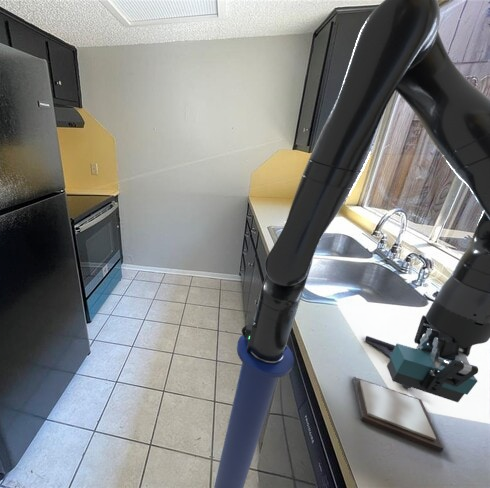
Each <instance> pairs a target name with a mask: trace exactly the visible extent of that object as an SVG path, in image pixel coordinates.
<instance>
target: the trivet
mask: <svg viewBox="0 0 490 488" xmlns="http://www.w3.org/2000/svg"><path fill="white" fill-rule="evenodd" d="M351 381H352V386H353V390H354V394H355V400H356V404H357V408H358V409H357V410H358V414H359V418H360V421H361V422H364V423H366V424H369V425H371V426H374V427H376V428H379V429H381V430H383V431H386V432H389V433H391V434H394V435H397V436H399V437H401V438H404V439H406V440H409V441H412V442H414V443H416V444H419V445H421V446H425V447H426V448H429V449H432V450H434V451H437V452H439V453H442V452H443V450H444V449H445V447H444V446H443V443H442V442H441V439H440V437H439V435H438V433H437V431H436V429H435V426H434V425H433V422H432V420H431V417H430V416H429V413H428V411H427V409H426V407H425V404H424V402H423V400H422V399H420V398H418V397H415V396H412V395H408V394H406V393H403V392H400V391H398V390H394V389H392V388H389V387H386V386H383V385H380V384H377V383H374V382H371V381H369V380H365V379H363V378H360V377H357V376H353V377H352V378H351Z"/></svg>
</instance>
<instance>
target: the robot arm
mask: <svg viewBox="0 0 490 488" xmlns="http://www.w3.org/2000/svg"><path fill="white" fill-rule="evenodd" d="M438 1H439V0H383V1H381V2H380V3H379V5H378V6H376V8H375V9H373V10H372V12H371V13H370V15H368V17H367V18H366V20H365V22H364V23H363V24H362V27H361V28H360V29H359V30H360V31H359V32H358V35H357V38H356V41H355V44H354V47H353V49H352V53H351V57H350V59H349V63H348V66H347V69H346V72H345V75H344V78H343V81H342V84H341V87H340V90H339V93H338V95H337V98H336V100H335V103H334V104H333V107H332V109H331V111H330V113H329V115H328V117H327V119H326V121H325V123H324V125H323V127H322V128H321V132H320V134H319V136H318V138H317V140H316V143H315V145H314V147H313V149H312V151H311V153H310V156H309V158H308V160H307V163H306V165H305V167H304V169H303V171H302V173H301V177H300V180H299V182H298V185H297V187H296V190H295V193H294V195H293V199H292V202H291V205H290V208H289V211H288V215H287V218H286V221H285V223H284V226H283V227H282V229H281V231H280V233H279V235H278V238H277V239H276V241H275V243H274V244H273V246H272V248H271V250H270V251H269V252H268V253H267V255H266V257H265V261H264V267H265V268H264V270H265V272H266V273H265V278H264V280H263V283H262V284H261V286H260V287H261V288H260V292H259V296H258V301H257V305H256V309H255V313H254V317H253V318H251V317H250V318H248V320H247V325H245V326H243V327H242V329H241V333H242V335H244V338H249V342H248V347H247V352H248V353H250V354H251V355H252V356H253V357H254V358H256V359H257V360H259V361H261V362H263V363H266V364H277V363H279V362H280V361H281V360H282V358H283V355H284V351H285V350H286V348H287V346H288V345H287V343H288V340H289V337H290V335H291V331H292V328H293V324H294V322H295V318H296V315H297V312H298V309H299V306H300V302H301V299H302V297H303V293H304V290H305V287H306V284H307V280H308V279H309V278H308V277H309V275H310V272H311V268H312V265H313V261H314V256H315V253H316V251H317V248H318V246H319V244H320V241H321V240H322V237H323V236H324V234H325V232H326V231H327V230H328V228H329V227H330V226H331V224H332V223H333V221H334V220H335V218H336V217H337V215H338V214H339V212H340V211H341V209H342V208H343V206H344V205H345V203H346V201H347V199H348V198H349V197H350V195H351V193H352V191H353V190H354V188H355V186H356V184H357V182H358V180H359V178H360V176H361V175H362V173H363V171H364V169H365V167H366V164H367V162H368V160H369V158H370V155H371V153H372V150H373V147H374V145H375V141H376V139H377V136H378V132H379V129H380V126H381V123H382V120H383V117H384V114H385V111H386V109H387V107H388V105H389V103H390V101H391V99H392V97H393V95H394V94H395V92H397V94H398V95H399V96H400V97H401V98H402V100H404V101H405V102H406V104H407V105H408V106H409V107H410V109H411V110H412V112H413V113H414V114H415V116H416V118H418V120H419V122H420V123H421V125H422V127H423V128H424V130H425V132H426V134H427V135H428V137H429V138H430V140H431V141H432V143H433V144H434V146H435V147H436V149H437V150H438V152H439V153H440V154H441V156H442V158H443V159H444V160H445V162H446V163H447V164H448V165H449V167H450V168H451V170H453V172H454V174H456V176H457V177H458V178H459V180H461V181H462V182H463V183H465V184H466V186H468V188H469V189H470V191H471V193H472V194H473V196H474V198H475V199H476V201H477V203H478V205H479V206H480V207H481V209H482V210H483V211H482V214H481V216H480V218H479V221H478V222H477V225H476V227H475V230H474V233H473V235H472V237H471V241H470V243H469V245H468V246H467V248H466V250H465V251H464V252H463V254H462V255H461V257H460V258H459V261H458V262H457V264H456V266H455V267H454V269H453V271H452V272H451V274H450V275H449V277H448V278H446V279H447V280H445V282H444V283H443V284H442V286H441V288H440V289H439V291H438V293H437V295H436V296H435V298H434V300H433V302H432V303H431V305H430V307H429V309H428V310H427V313H425V314H423V315H422V316H421V319H420V321H419V324H418V328H417V331H416V334H415V337H414V340H413V341H414V343H415V344H417V346H416V348H415V349H419V350H422V351H426V352H429V353H431V355H430V360H431V361H432V364H431V367H430V370H429V372H428V373H427V374H426V376H425V377H424V379H423V381H422V382H421V383H420V385H421V387H422V389H424V390H427V391H430V392H433V393H436V392H438V391H439V389H440V388H441V386H442V385H443V383H446V384H449V385H452V386H455V387H458V386H459V385H460V384H462V383H463V382H465V381H466V380H468V379H469V378H471V377H472V376H474V377H475V375H477V374H478V372H479V368H478V367H479V366H477V365H474V364H471V363H470V361H469V359H468V357H469V356H470V354H471V349H472V347H473V346H475V345H479V344H480V345H482V344H485V343H487V342H488V341H489V340H490V98H489V97H488V96H487V95H486V94H484V92H482V91H481V90H480V89H478V88H477V87H476V86H475V85H473V83H471V81H469V80H468V78H466V77H465V76H464V75H463V73H462V72H461V71H460V70H459V69H458V67H456V64H455V63H454V62H453V60H452V59H451V58H450V56H449V54H448V51H447V49H446V48H445V45H444V43H443V41H442V38H441V36H440V33H439V28H440V19H441V8H440V5H439V2H438ZM286 345H287V346H286ZM439 357H440V358H444V359H447V360H452V361H449V362H448V361H445V360H441V359H438V358H439ZM439 366H444V367H445V368H443V369H442V370H441V371H439V370H438V369H439Z"/></svg>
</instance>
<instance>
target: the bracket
mask: <svg viewBox="0 0 490 488" xmlns="http://www.w3.org/2000/svg"><path fill="white" fill-rule="evenodd" d="M364 341H365V343H366V342H367V343H368V344H370V345H372V346H374V347H376V349H378V350H379V351H381V352H383V353H384V354H385V355H387V356H388V358H389V359H391V357H390V355H391V353H392V351H393V349H394V348H395V346H396V344H392V343H390V342H386V341H384V340H381V339H377V338H375V337H372V336H369V335H366V336H365V338H364ZM400 385H401V387H404V388H406V389H411V388H412V387H409V386H406V385H403V384H400Z"/></svg>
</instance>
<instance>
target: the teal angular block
mask: <svg viewBox="0 0 490 488" xmlns="http://www.w3.org/2000/svg"><path fill="white" fill-rule="evenodd" d="M391 352H392V353H391V355H390V357H391V358H390V357H389V361H388V363H387V365H386V368H387V370H388V373H389V375H390V378H391V381H392V382H394V383H397V384H400V385H401V384H403V385H406V386H409V387H411V388H412V389H415V390H419V391H422V392H424V393H426V394H431V395H433V396H437V397H440V398H443V399H446V400H448V401H452V402H455V403H459V402H460V401H461V400H462V398H463V397H464V395H466V396H468V395H469V393H470V392H471V391H472V389H473V388H474V387H475V386H476V384H477V383H478V379H477V378H476V376H475V375H474V376H472V377H471V378H469V379H468V380H466V381H465V382H463V383H462V384H460V385H459V386H458V387H455V386H452V385H449V384H446V383H443V385H442V386H441V388H440V389H439V391H438V392H436V393H433V392H430V391H427V390H424V389H422V387H421V385H420V383H421V382H422V381H423V379H424V377H425V376H426V374H427V373H428V372H429V370H430V367H431V364H432V361H431V360H430V355H431V353H429V352H426V351H422V350H419V349H416V348H415V347H411V346H407V345H404V344H400V343H396V344H395V348H394V349H393V351H392V350H391ZM438 359H441V360H445V361H448V362H449V361H452V360H447V359H444V358H440V357H439V358H438ZM443 368H445V367H444V366H439V369H438V370H439V371H441V370H442V369H443Z"/></svg>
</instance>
